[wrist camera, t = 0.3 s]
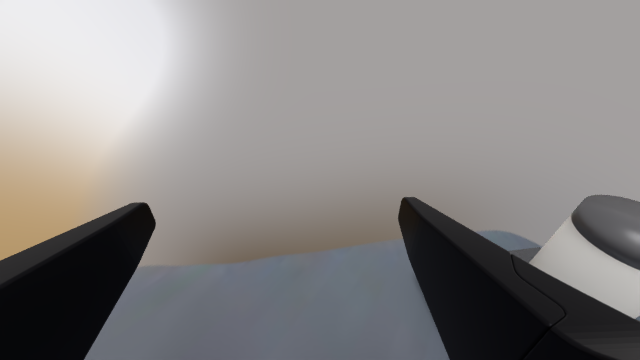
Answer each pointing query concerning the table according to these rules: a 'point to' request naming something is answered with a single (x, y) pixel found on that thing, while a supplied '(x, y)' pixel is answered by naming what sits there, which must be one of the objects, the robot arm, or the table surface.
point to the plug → (598, 252)
